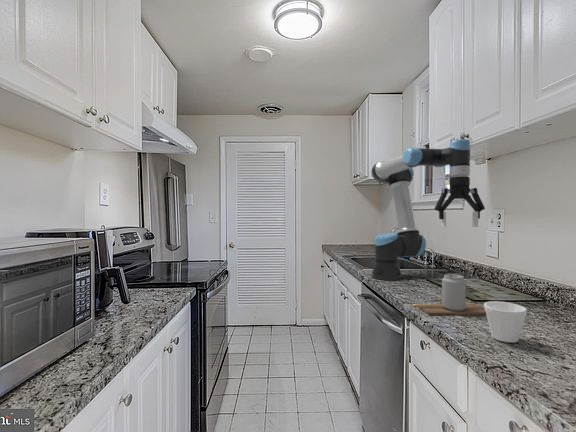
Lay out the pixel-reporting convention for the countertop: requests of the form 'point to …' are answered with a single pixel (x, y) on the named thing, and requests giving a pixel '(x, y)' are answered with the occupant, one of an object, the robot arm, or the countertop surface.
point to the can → (454, 292)
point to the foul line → (417, 304)
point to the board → (440, 310)
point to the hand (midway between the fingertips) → (459, 227)
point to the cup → (505, 320)
